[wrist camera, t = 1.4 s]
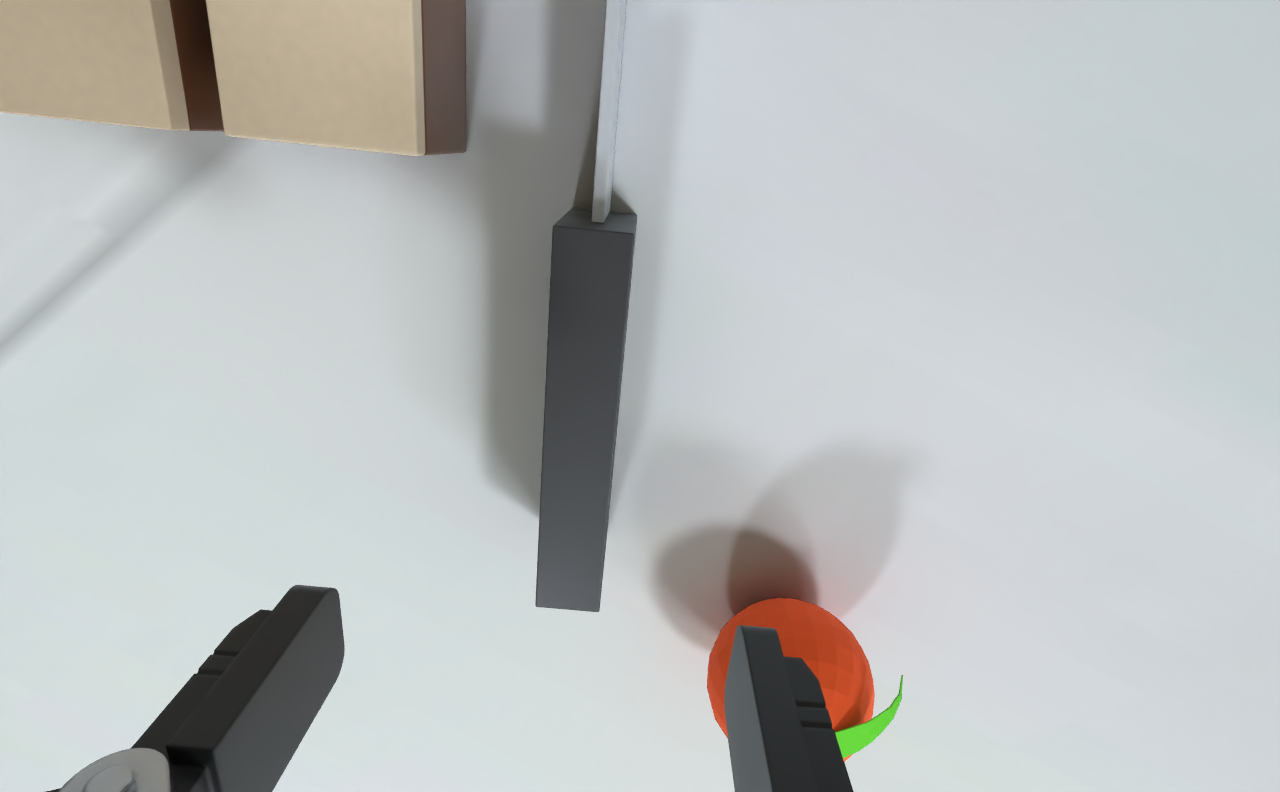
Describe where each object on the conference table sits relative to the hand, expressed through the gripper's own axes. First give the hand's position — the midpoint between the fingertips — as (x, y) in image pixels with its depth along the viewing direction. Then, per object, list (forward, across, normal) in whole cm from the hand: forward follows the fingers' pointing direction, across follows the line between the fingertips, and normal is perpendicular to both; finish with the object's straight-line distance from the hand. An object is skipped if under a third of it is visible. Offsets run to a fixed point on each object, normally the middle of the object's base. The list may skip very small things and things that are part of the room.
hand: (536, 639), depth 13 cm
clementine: (+14, -10, +11) cm, 20 cm away
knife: (+14, 0, -4) cm, 15 cm away
